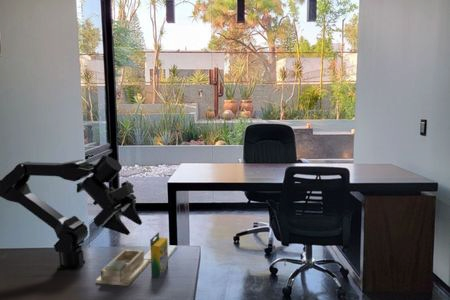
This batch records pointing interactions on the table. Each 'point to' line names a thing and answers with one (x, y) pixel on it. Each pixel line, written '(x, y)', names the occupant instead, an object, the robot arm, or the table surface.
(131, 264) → the organizer
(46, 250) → the table surface
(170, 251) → the external hard drive
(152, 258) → the crayon box
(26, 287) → the table surface
